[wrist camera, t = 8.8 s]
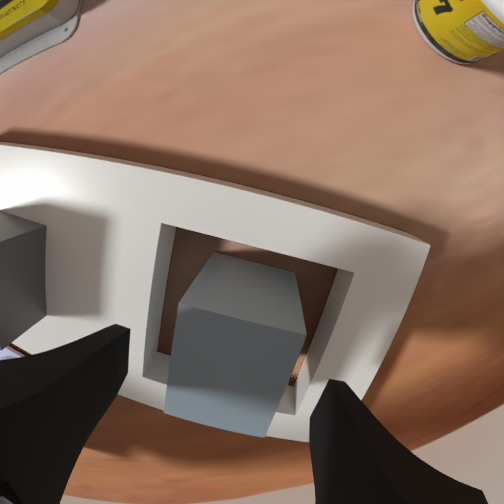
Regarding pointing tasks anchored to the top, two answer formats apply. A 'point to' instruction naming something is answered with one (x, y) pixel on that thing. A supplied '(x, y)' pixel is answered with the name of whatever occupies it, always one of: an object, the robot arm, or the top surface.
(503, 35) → the supplement bottle
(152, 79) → the top surface
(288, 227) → the white flat frame
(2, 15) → the emergency button
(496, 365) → the top surface
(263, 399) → the slate plug
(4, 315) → the matte grey cube
